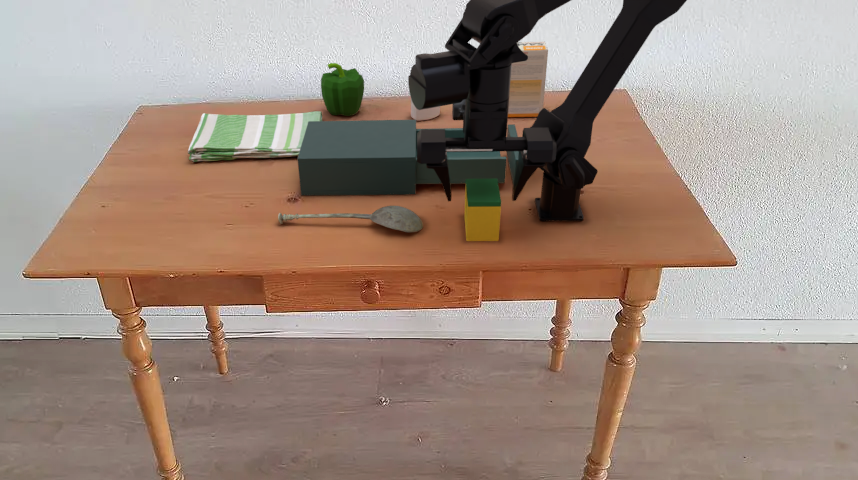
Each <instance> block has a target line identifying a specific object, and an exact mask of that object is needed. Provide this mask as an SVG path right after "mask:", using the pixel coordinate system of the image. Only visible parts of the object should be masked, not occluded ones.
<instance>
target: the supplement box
mask: <svg viewBox="0 0 858 480" xmlns="http://www.w3.org/2000/svg"><path fill="white" fill-rule="evenodd" d="M517 44H518V47H519V48H520V49H521V51H522V52H524V53H525V54H526V55H527V56H528V59H527V60H526V61H522V62H516V63H512V67H511V81H510V94H509V109H508V118H533V117H534V118H537V116H538V114H539V112H540V111H541V110H542V109H543V108H544V104H545V93H546V92H545V91H546V80H547V70H548V69H547V67H548V56H549V49H548V46H547V42H546V41H519V42H517Z"/></svg>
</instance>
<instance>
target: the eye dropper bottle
mask: <svg viewBox="0 0 858 480" xmlns="http://www.w3.org/2000/svg"><path fill="white" fill-rule="evenodd" d="M440 114H441V106H439V107H433V108H428V109H422V110H418V109H417V108H416V107H415V106H414V104H413V102H412V99H411V98H410V117H411V119H412V120H416V122H420V121H428V120H431V119H435V118H436V117H438V116H440Z"/></svg>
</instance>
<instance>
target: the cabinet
mask: <svg viewBox="0 0 858 480" xmlns="http://www.w3.org/2000/svg"><path fill="white" fill-rule="evenodd" d="M416 129H417V120H415V119H372V120H371V119H369V120H366V119H365V120H363V119H361V120H322V121H308V125H307V128H306V131H305V135H304V138H303V142H302V145H301V148H300V152H299V155H298V156H297V168H298V177H299V187H300V196H385V195H387V196H388V195H389V196H391V195H392V196H393V195H394V196H397V195H399V196H400V195H401V196H402V195H404V196H405V195H407V196H408V195H416V194H417V184H416Z"/></svg>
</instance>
